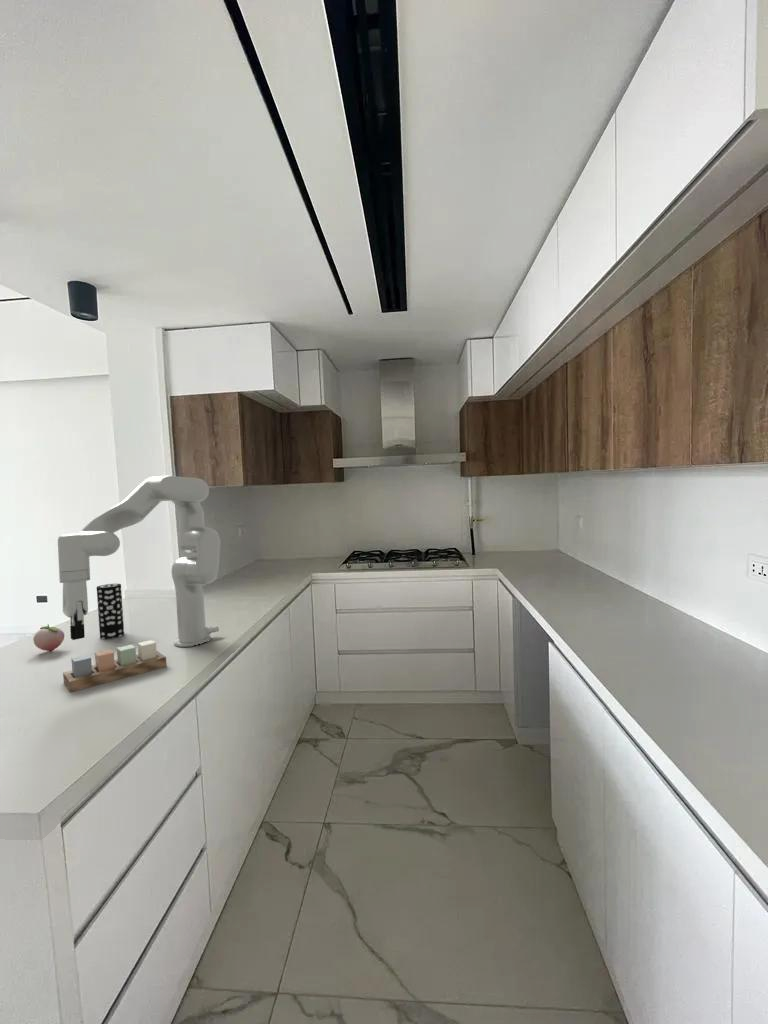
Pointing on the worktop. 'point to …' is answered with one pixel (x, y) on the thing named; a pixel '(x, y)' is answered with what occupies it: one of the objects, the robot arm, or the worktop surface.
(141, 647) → the cream block
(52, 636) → the decorative fruit
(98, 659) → the key terracotta
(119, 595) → the spotted tube
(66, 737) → the worktop surface
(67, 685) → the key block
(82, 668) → the grey block
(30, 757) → the worktop surface
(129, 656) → the key sage
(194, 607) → the robot arm
